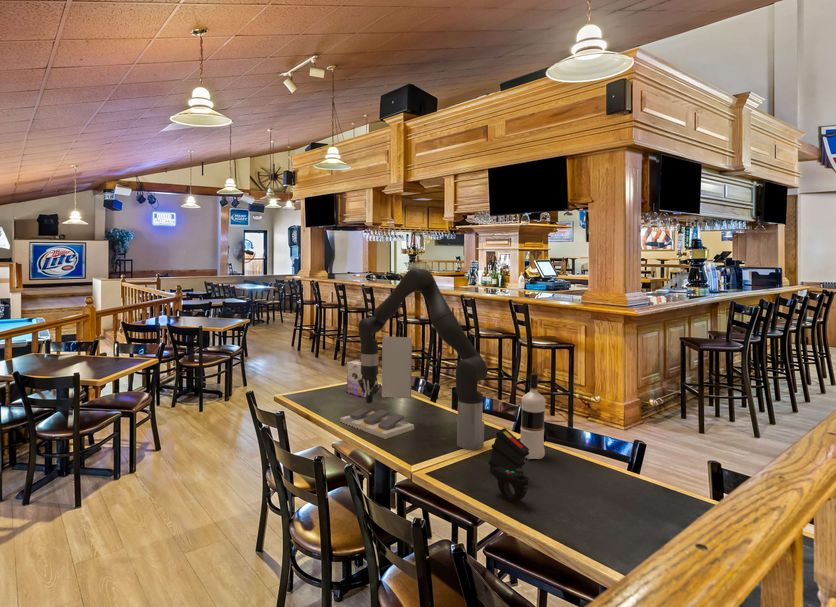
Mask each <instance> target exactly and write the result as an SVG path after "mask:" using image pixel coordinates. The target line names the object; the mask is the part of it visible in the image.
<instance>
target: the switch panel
mask: <svg viewBox="0 0 836 607" xmlns="http://www.w3.org/2000/svg"><path fill="white" fill-rule="evenodd" d="M375 412H376V411H375V410H374V411H372V412H370V413H368V414H366V415H365V416H363V417H361V418H359V419H355V418H352V417H350V415H346V416H342V417H340V418H339V420H340V423H341V422H342V423H341V424H343V423H345V424H344V425H346V424H347V425H346V426H349V425H350V426H349V427H352V426H353V427H352V428H354V427H355V428H354V429H357V428H358V430H360V429H361V430H360V431H362V430H363V432H366V433H368V434H371V435H374V436H376V437H379V438H381V439H385V440H386V439H390V438H393V437H397V436H399V435H401V434H405V433H408V432H410V431H414V430H415V424H413V423H410V422H408V421H405V420H401V421H400V422H398V423H397V424H396V425H394V426H393V427H391V428H390V429H388V430H384V429H382V428H379V427H378V424H380V423H381V422H383V421H384V420H386V419H387V418H389V417H390V416H391V415H390V416H389V415H387V416H385V417H384V418H382V419H380V420H378V421H377V422H375V423H373V424H369V423H366V422H364V421H363V419H364V418H366V417H368V416H369V415H371V414H373V413H375Z"/></svg>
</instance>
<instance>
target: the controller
mask: <svg viewBox="0 0 836 607" xmlns="http://www.w3.org/2000/svg"><path fill="white" fill-rule="evenodd" d="M516 471H517V473H516V472H514V471H511V470H508V469H506V468H504V467H501V466H497V467H495V468H493V470H492V472H491V475H492V476H493V477H494V478H495V479H496V480H497V486H498V490H499V492H500V494H501V495H502V496H503V498H505V499H506V500H507V499H508V501H509V500H510V501H509V502H519V501H520V500H522V499H524V498H525V497H526V495H527V493H528V492H527V491H528V490H529V489H528V487H529V481H530V477H528V476H526V475H525V474H524V470H523V468H522V469H520V468H517V469H516ZM521 472H523V474H522V473H521ZM510 485H511V486H512V487H513V490H514V493H513V492H512V490H511V488H510Z"/></svg>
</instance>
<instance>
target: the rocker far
mask: <svg viewBox="0 0 836 607" xmlns="http://www.w3.org/2000/svg"><path fill="white" fill-rule="evenodd" d="M375 410H376V409H375V407H374V406H372V405H369V404H366V405H364V406H362V407H359V408H358V409H356V410H354V411H352V412H351V413H349V415H350V417H352V418H355V419H359V418H361V417H363V416H365V415H366V414H368V413H370V412H372V411H374V412H375ZM349 415H348V416H349Z"/></svg>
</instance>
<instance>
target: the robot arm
mask: <svg viewBox="0 0 836 607" xmlns="http://www.w3.org/2000/svg"><path fill="white" fill-rule="evenodd" d="M414 292H418V293H420V294H421V295H422V297H423V298H424V300H425V302H426V303H427V306H428V309H429V318H430V322H431V325H432V326H433V329H434V330H435V332H436V333H437V335H438V336H439V338H441V340H442V341H443V342H445V343H446V344H447V345H448V346H449V347H451V348H452V349H453V350H454V351H455V352H456V353H457V355H458V356H459V357H460V359H461V360H460V361H459V362H458V363H457V364H456V368H455V391H456V394H457V425H456V426H457V428H456V429H457V430H456V432H457V433H456V446H457V447H458V448H461V449H465V450H473V451H476V450H478V449H480V448H482V446H483V447H484V446H485V421H484V420H483V402H484V401H483V400H484V396H483V393H482V392H481V391H478V384H477V383H478V382H481V381H483V380H485V379H486V378H487V375H488V369H489V368H488V367H487V363H486V362H485V360H484V358H483V357H482V355H481V354H480V353H479V352H478V351H477V349H476V347H474V345H473V343H472V342H471V341H470V338H469V337H468V336H467V334H466V333H465V331H464V329H463V328H462V326H461V324H460V322H459V320H458V319H457V317H456V315H455V313H453V311H452V310H451V307H450V306H449V304H448V302H447V301H446V299H445V298H444V296H443V294H442V292H441V290H440V289H439V287H438V284H437V282H436V279H435V278H434V275H433V273H431V272H430V271H429V270H427V269H425V268H424V269H423V268H418V267H417V268H410V269H409V270H408V271H407V272H406V273H405V274H404V275H403V277H402V278H401V280H400V281H399V282H398V284H397V285H396V287H394V289H393V291H391V293H390V294H389V295H388V296H387V298H386V299H384V301H382V302H381V303H380V304H379V305H378V306H377V307H376V308H375V309H374V311H373V315H372V316H371V317H366V318H365V317H364V318H362V319H361V320H360V321H359V322H358V327H357V329H358V334H359V340H360V344H361V354H360V362H361V375H362V379H360V380H358V382H359V385H360V387H361V389H362V391H363V392H365V394H366V397H365V403H366V404H368V405H369V404H373V401H374V400H373V399H374V397H373V395H375V394H377V393H378V391H379V390H380V388H382V383H379V382H378V377H377V376H378V374H379V343H378V342H379V341H378V340H377V339H374V338H373V334H377V333H379V332H380V331H381V330H382V329H383V328H384V326H385V325H386V324H387V322H388V321H389V320H390V319H391V318H392V317H393V316H395V314H397V313H398V311H399V309H400V307H401V305H402V303H403V302H404V300H405V299H406V298H407V297H408V296H409V295H411V294H413V293H414Z"/></svg>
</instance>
